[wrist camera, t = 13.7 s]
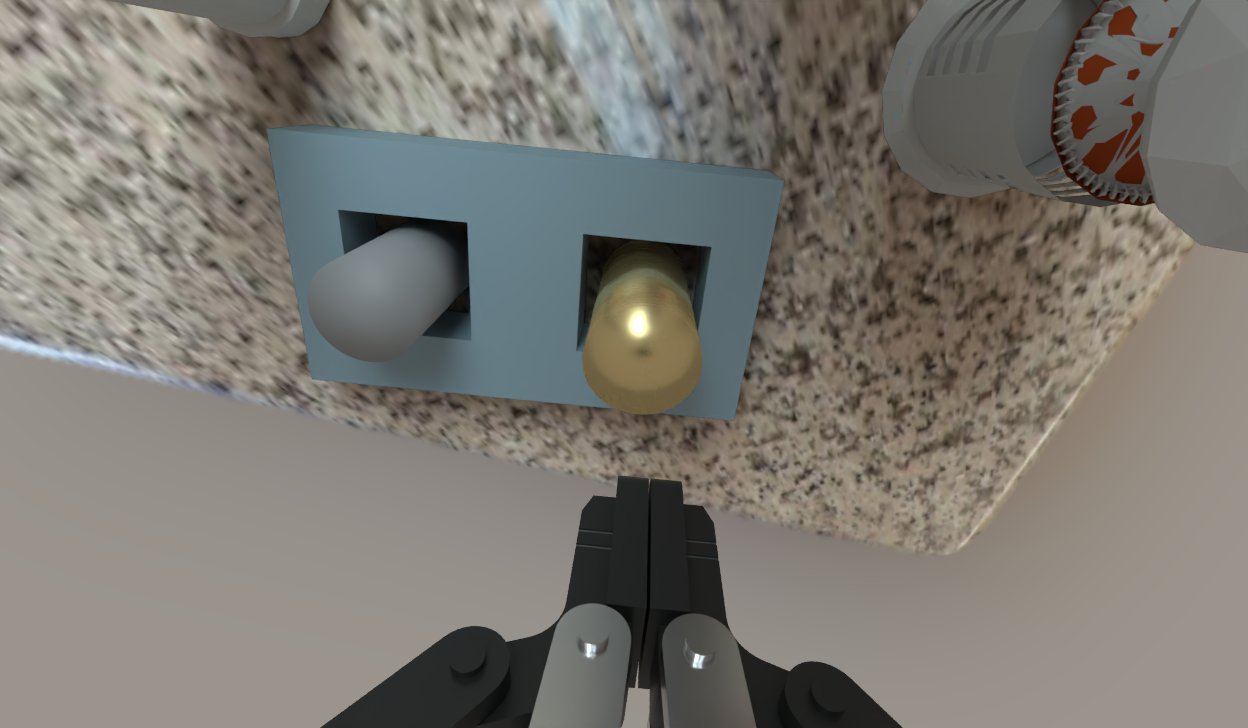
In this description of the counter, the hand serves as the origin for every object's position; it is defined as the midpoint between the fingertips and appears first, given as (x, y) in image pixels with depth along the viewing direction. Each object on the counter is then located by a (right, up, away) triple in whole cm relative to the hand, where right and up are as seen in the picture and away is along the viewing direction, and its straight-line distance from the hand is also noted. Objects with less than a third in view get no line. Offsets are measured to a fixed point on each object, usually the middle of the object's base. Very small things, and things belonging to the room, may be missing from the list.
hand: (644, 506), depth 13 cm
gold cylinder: (+1, +8, +16) cm, 18 cm away
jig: (-5, +8, +16) cm, 19 cm away
